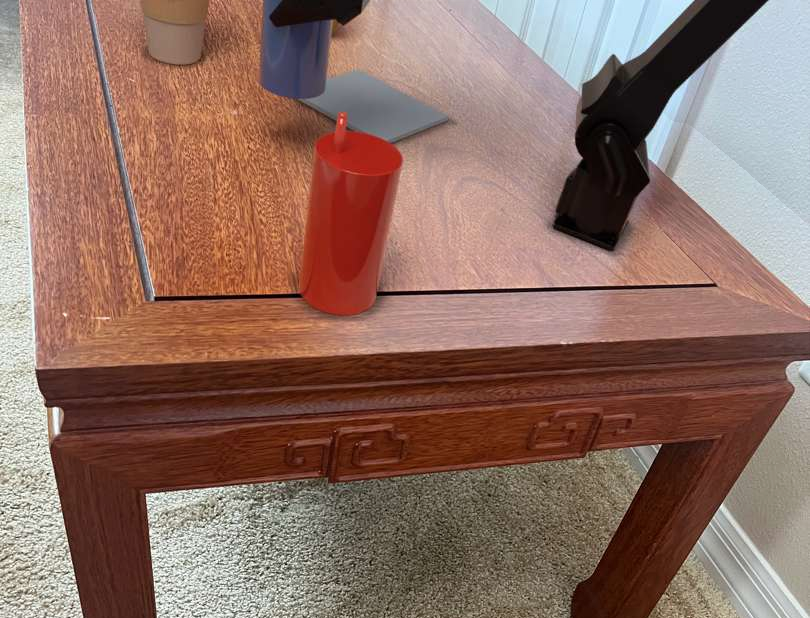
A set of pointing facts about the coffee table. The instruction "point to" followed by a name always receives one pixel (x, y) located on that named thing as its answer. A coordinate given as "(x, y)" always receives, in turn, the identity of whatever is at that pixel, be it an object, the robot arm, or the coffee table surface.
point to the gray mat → (374, 107)
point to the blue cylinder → (294, 56)
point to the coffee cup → (175, 29)
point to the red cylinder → (348, 219)
